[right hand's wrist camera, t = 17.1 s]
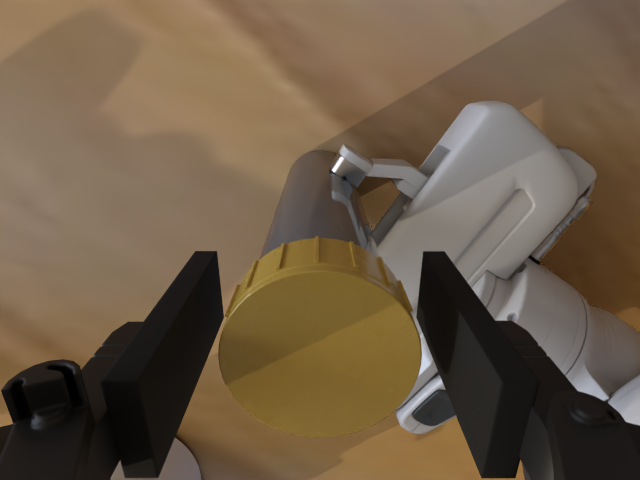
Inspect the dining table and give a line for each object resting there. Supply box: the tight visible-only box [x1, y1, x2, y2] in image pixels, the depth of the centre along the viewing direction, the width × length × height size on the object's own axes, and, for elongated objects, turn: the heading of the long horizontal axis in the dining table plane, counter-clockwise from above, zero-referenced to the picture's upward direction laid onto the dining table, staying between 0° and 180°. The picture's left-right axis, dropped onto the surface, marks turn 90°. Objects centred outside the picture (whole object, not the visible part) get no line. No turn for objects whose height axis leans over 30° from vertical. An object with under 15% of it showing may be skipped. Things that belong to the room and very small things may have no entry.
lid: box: [219, 236, 422, 437], centre depth 11 cm, size 6×6×2 cm
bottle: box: [259, 150, 380, 260], centre depth 20 cm, size 5×5×19 cm
